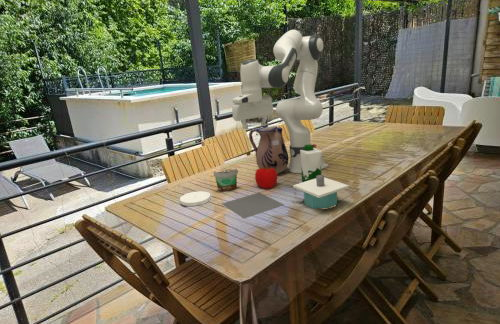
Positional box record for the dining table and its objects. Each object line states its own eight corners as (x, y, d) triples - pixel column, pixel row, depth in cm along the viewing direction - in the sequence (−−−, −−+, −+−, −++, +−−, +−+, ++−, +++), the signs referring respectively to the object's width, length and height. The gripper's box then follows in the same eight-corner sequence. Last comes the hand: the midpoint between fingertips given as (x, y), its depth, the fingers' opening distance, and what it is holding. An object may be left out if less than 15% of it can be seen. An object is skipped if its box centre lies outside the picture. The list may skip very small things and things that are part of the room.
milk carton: (316, 182, 169) (315, 143, 164) (325, 188, 161) (323, 147, 155) (299, 185, 167) (297, 145, 162) (307, 191, 159) (305, 149, 153)
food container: (217, 194, 165) (215, 174, 163) (215, 190, 171) (212, 171, 168) (242, 190, 168) (240, 170, 165) (239, 186, 174) (237, 167, 171)
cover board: (321, 178, 154) (321, 167, 152) (348, 187, 140) (348, 176, 139) (293, 187, 146) (292, 176, 145) (319, 197, 133) (318, 185, 131)
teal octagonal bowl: (321, 194, 154) (321, 180, 152) (343, 203, 143) (343, 187, 141) (298, 202, 147) (298, 187, 145) (319, 212, 136) (319, 196, 134)
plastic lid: (174, 203, 160) (173, 198, 159) (199, 194, 169) (198, 189, 168) (191, 210, 150) (191, 205, 149) (217, 200, 159) (216, 195, 158)
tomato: (260, 192, 163) (258, 172, 160) (252, 184, 175) (251, 165, 172) (282, 188, 166) (281, 168, 163) (273, 180, 177) (272, 161, 175)
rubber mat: (259, 193, 162) (259, 192, 162) (284, 205, 145) (284, 204, 145) (221, 204, 153) (221, 203, 152) (244, 219, 136) (243, 218, 136)
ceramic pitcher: (287, 177, 181) (284, 130, 175) (248, 177, 186) (244, 132, 179) (290, 167, 198) (288, 124, 191) (254, 167, 202) (251, 125, 196)
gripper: (267, 94, 162) (269, 123, 166) (229, 99, 152) (232, 130, 156) (275, 94, 157) (277, 124, 161) (236, 100, 147) (239, 132, 151)
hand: (254, 127), depth 158 cm, fingers open, 8 cm apart
